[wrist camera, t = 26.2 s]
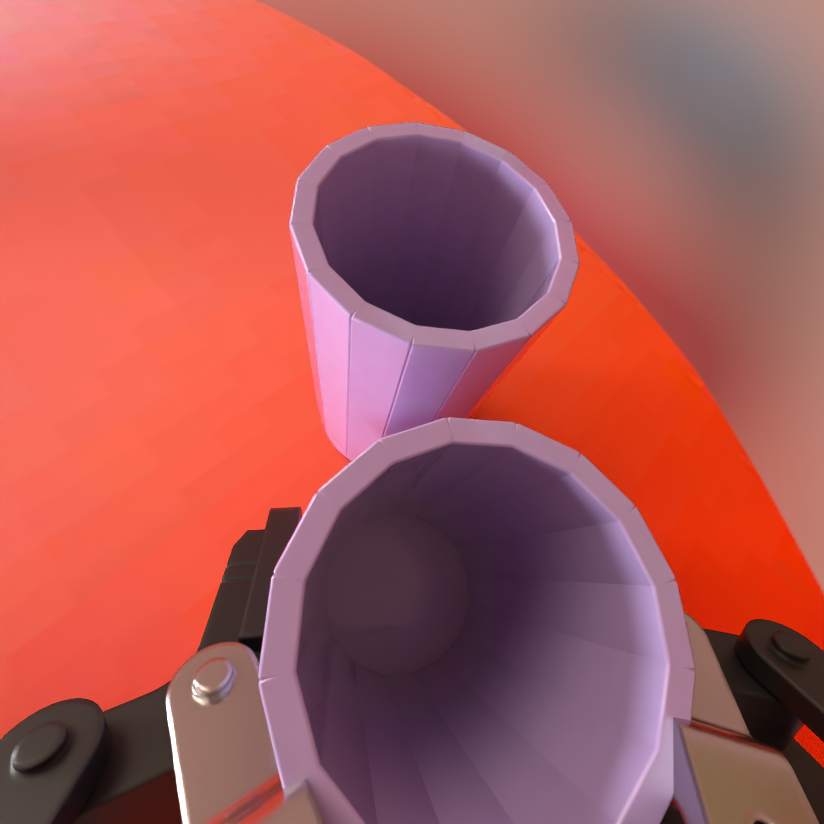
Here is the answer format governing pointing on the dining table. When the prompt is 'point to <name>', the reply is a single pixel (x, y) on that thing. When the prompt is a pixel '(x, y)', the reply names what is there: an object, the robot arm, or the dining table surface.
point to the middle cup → (475, 638)
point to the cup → (422, 275)
